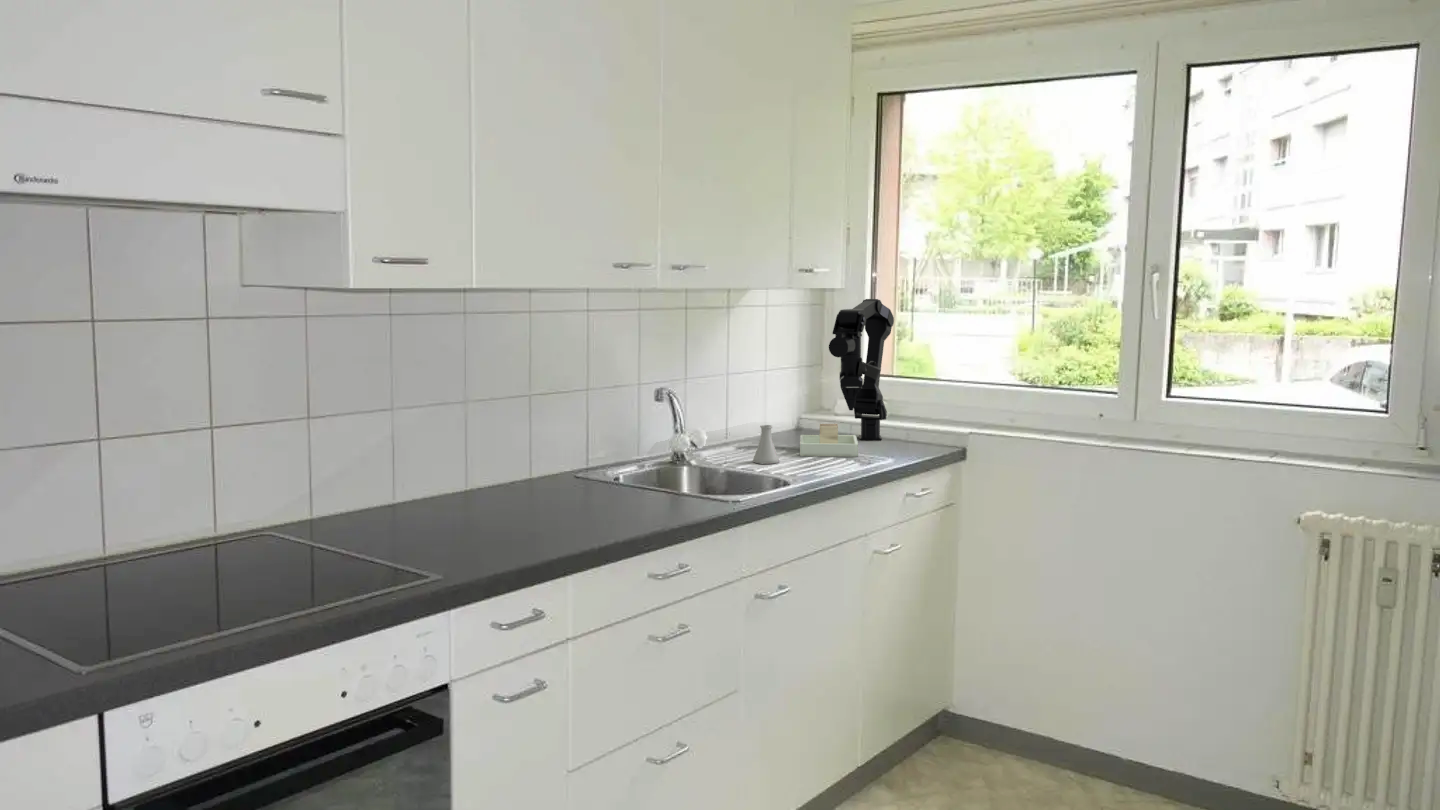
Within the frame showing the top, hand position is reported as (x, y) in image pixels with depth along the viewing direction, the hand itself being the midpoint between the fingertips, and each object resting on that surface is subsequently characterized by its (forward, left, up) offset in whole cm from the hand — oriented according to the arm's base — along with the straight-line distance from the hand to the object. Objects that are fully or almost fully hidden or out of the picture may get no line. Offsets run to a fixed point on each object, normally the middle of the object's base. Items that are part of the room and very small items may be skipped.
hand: (850, 407), depth 323 cm
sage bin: (+7, -6, -12) cm, 15 cm away
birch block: (+7, -6, -11) cm, 14 cm away
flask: (+24, -23, -12) cm, 35 cm away
